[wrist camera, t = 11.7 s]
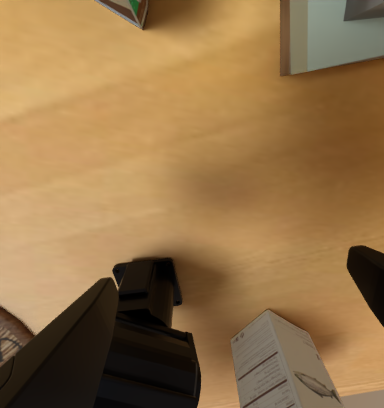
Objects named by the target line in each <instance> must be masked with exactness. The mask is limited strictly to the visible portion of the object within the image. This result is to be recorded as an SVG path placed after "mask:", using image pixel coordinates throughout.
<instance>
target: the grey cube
mask: <svg viewBox="0 0 384 408" xmlns="http://www.w3.org/2000/svg"><path fill="white" fill-rule="evenodd" d="M381 17H384V0H347V1H346V7H345V13H344V20H343V21H352V20H362V19H372V18H381Z"/></svg>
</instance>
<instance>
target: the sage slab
mask: <svg viewBox="0 0 384 408" xmlns="http://www.w3.org/2000/svg"><path fill="white" fill-rule="evenodd" d="M346 1H347V0H290V52H291V75H293V74H298V73H303V72H308V71H313V70H318V69H322V68H327V67H331V66H336V65H341V64H345V63H350V62H354V61H359V60H364V59H368V58H373V57H377V56H382V55H384V17H381V18H372V19H362V20H352V21H343V20H344V13H345V7H346Z"/></svg>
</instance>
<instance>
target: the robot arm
mask: <svg viewBox="0 0 384 408" xmlns="http://www.w3.org/2000/svg"><path fill="white" fill-rule="evenodd" d="M167 263H170V264H167ZM116 269H118V270H116ZM347 269H348V271H349V273H350V275H351V277H352V278H353V280H354V282H355V283H356V285H357V287H358V289H359V290H360V292H361V294H362V295H363V297H364V299H365V301H366V302H367V304H368V306H369V307H370V309H371V310H372V312H373V313H374V315H375V316H376V317H377V319H378V320H379V322H380V323H381V324H382V326H383V327H384V253H381V252H379V251H376V250H374V249H371V248H369V247H366V246H363V245H359V246H352V247H350V249H349V252H348V259H347ZM112 271H113V274H114V277H115V279H116V282H117V284H118V287H119V288H118V290H117V288H116V285H115V283H114V280H113V279H112V278H111V277H107V278H101V279H100V280H98V281H97V282H96V283H95V284H94V285H93V286H92V287H91V288H89V289H88V290H87V291H86V292H85V293H84V294H83V295H81V296H80V297H79V298H78V299H77V300H76V301H75V302H73V303H72V304H71V305H70V306H69V307H68V308H67V309H66V310H64V311H63V312H62V313H61V314H60V315H59V316H58V317H56V318H55V319H54V320H53V321H52V322H51V323H50V324H48V325H47V326H46V327H45V328H44V329H43V330H42V331H41V332H39V333H38V334H37V335H36V336H35V337H34V338H33V339H31V340H30V341H29V342H28V343H27V344H26V345H25V346H23V347H22V348H21V349H20V350H19V351H18V352H17V353H16V354H15V356H12V357H11V358H10V359H9V360H7V361H6V362H5V363H4V364H3V365H2V366H1V367H0V408H197V406H198V402H199V397H200V390H201V372H200V367H199V362H198V358H197V354H196V349H195V345H194V340H193V336H192V333H189V332H182V331H179V330H175V329H172V328H171V326H172V314H173V306H179V305H181V304H182V296H181V292H180V287H179V283H178V279H177V275H176V271H175V266H174V262H173V260H172V259H170V258H166V259H158V260H149V261H142V262H134V263H127V264H120V265H115V266H114V268H113V270H112Z"/></svg>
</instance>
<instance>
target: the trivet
mask: <svg viewBox="0 0 384 408" xmlns="http://www.w3.org/2000/svg"><path fill="white" fill-rule="evenodd" d="M34 337H35V336H34V335H33V334H32V333H31V332H30V331H29V330H28V329H27V328H26V327H25V326H24V325H23V324H22V323H21V321H20V320H18V319H17V318H16V317H14V316H13V315H11V314H10V313H8V312H7V311H6V310H4V309H3V308H1V307H0V367H1V366H2V365H3V364H4V363H5V362H6V361H7V360H9V359H10V358H11V357H12V356H15V354H16V353H17V352H18V351H19V350H20V349H21V348H22V347H23V346H25V345H26V344H27V343H28V342H29V341H30V340H31V339H33V338H34Z"/></svg>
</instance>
